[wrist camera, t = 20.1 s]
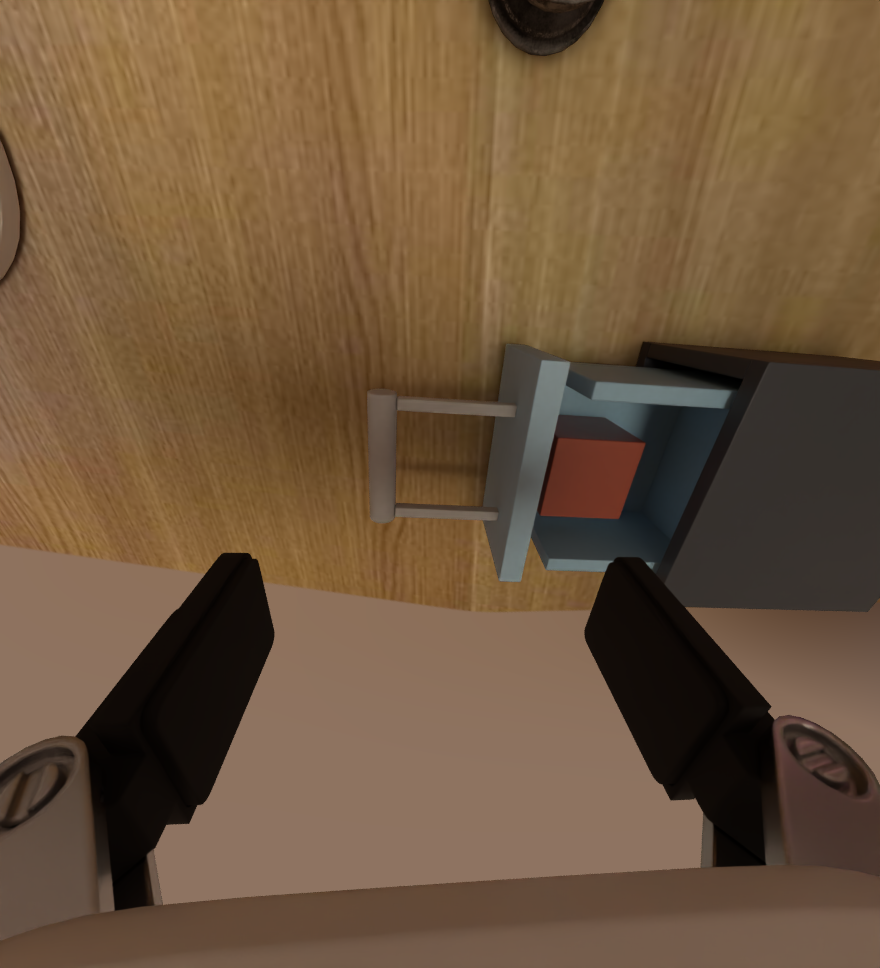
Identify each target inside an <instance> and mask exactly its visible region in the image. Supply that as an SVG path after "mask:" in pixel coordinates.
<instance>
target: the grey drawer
mask: <svg viewBox="0 0 880 968" xmlns="http://www.w3.org/2000/svg"><path fill="white" fill-rule="evenodd" d="M741 384H742V382H741V381H737V380H733V379H729V378H724V377H720V376H716V375H712V374H708V373H703V372H699V371H689V370H675V369H661V368H647V367H633V366H619V365H605V364H591V363H577V362H569V361H567V360H564V359H561V358H559V357H556V356H554V355H551V354H548V353H546V352H543V351H541V350H538V349H535V348H533V347H530V346H528V345H519V344H506V350H505V357H504V364H503V370H502V377H501V384H500V391H499V398H498V402H489V401H473V400H457V399H442V398H426V397H410V396H398V397H397V392H396V391H393V390H389V389H372V390H369V391H368V392H367V408H368V452H369V496H370V518H371V520H373V521H374V522H377V523H388V522H390V521H392V520H393V519H394V518H395V517H415V518H439V519H463V520H483V522H484V526H485V530H486V534H487V537H488V541H489V545H490V549H491V552H492V556H493V560H494V564H495V568H496V571H497V575H498V579H499V581H508V582H520V581H521V577H522V573H523V568H524V564H525V560H526V555H527V551H528V546H529V542H530V538H532V540H533V542H534V545H535V547H536V549H537V551H538V553H539V556H540V558H541V560H542V562H543V564H544V567H545V569H546V570H560V571H591V572H606V569H607V566H608V564H609V563H610V562H613V561H614V559H615V558H617V557H639V558H641V559H643V560H644V561H645V562H646V564H647V565H648V566H649V567H650V568H651V569H652V570H653V572H654V573H655V574H656V572H657V570H658V567H659V565H660V563H661V561H662V559H663V556H664V554H665V552H666V550H667V547H668V545H669V543H670V541H671V539H672V536H673V534H674V532H675V530H676V528H677V525H678V523H679V521H680V519H681V516H682V514H683V512H684V510H685V508H686V505H687V503H688V501H689V499H690V497H691V494H692V492H693V490H694V488H695V485H696V483H697V481H698V479H699V477H700V474H701V472H702V470H703V468H704V466H705V463H706V461H707V459H708V457H709V454H710V452H711V450H712V448H713V446H714V443H715V441H716V439H717V437H718V434H719V432H720V430H721V428H722V426H723V423H724V421H725V419H726V417H727V415H728V412H729V410H730V408H731V406H732V403H733V401H734V399H735V397H736V395H737V392H738V390H739V388H740V386H741ZM397 410H398V411H415V412H431V413H448V414H464V415H481V416H496V418H495V425H494V432H493V439H492V446H491V452H490V459H489V466H488V473H487V480H486V486H485V493H484V500H483V507H476V506H453V505H430V504H407V503H396V505H395V493H396V429H397ZM558 415H573V416H589V417H605V418H606V419H608V420H610V421H611V422H613V423H615V424H616V425H618V426H619V427H621V428H623V429H624V430H626V431H627V432H629V433H631V434H632V435H634V436H635V437H637V438H639V439H640V440H642V441H644V442H645V443H646V445H645V448H644V451H643V453H642V456H641V459H640V462H639V465H638V467H637V470H636V473H635V476H634V479H633V481H632V484H631V487H630V490H629V492H628V495H627V498H626V501H625V504H624V506H623V509H622V512H621V515H620V518H619V519H604V518H581V517H557V516H540V515H539V513H538V511H537V507H538V503H539V498H540V494H541V490H542V485H543V481H544V477H545V472H546V468H547V463H548V459H549V455H550V450H551V446H552V442H553V437H554V433H555V429H556V424H557V420H558Z"/></svg>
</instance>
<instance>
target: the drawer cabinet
mask: <svg viewBox="0 0 880 968" xmlns="http://www.w3.org/2000/svg"><path fill="white" fill-rule="evenodd" d="M636 367H647V368H661V369H675V370H689V371H699V372H703V373H708V374H712V375H716V376H720V377H724V378H729V379H733V380H737V381H741V382H742V384H741V386H740V388H739V390H738V392H737V395H736V397H735V399H734V401H733V403H732V406H731V408H730V410H729V412H728V415H727V417H726V419H725V421H724V423H723V426H722V428H721V430H720V432H719V434H718V437H717V439H716V441H715V443H714V446H713V448H712V450H711V452H710V454H709V457H708V459H707V461H706V463H705V466H704V468H703V470H702V472H701V474H700V477H699V479H698V481H697V483H696V485H695V488H694V490H693V492H692V494H691V497H690V499H689V501H688V503H687V505H686V508H685V510H684V512H683V514H682V516H681V519H680V521H679V523H678V525H677V528H676V530H675V532H674V534H673V536H672V539H671V541H670V543H669V545H668V547H667V550H666V552H665V554H664V556H663V559H662V561H661V563H660V565H659V567H658V570H657V572H656V575H657V576H658V577H659V578H660V580H661V581H662V582H663V583H664V584H665V585H666V586H667V588H668V589H669V590H670V591H671V592H672V593H673V594H674V596H675V597H676V598H677V599H678V600H679V601H680V602H681V604H682V605H683V606H684V607H705V608H744V609H745V608H746V609H781V610H819V611H856V612H857V611H858V612H868V611H869V610H870V609H871V607H872V606H873V605H874V604H875V603H876V602H877V601H878V599H879V598H880V362H879V361H871V360H863V359H855V358H846V357H838V356H825V355H812V354H799V353H786V352H773V351H760V350H747V349H734V348H721V347H708V346H694V345H681V344H668V343H655V342H643V345H642V348H641V351H640V355H639V358H638V361H637V364H636Z"/></svg>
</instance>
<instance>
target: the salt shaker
mask: <svg viewBox="0 0 880 968" xmlns="http://www.w3.org/2000/svg"><path fill="white" fill-rule="evenodd" d="M489 2H490V6H491V9H492V13H493V16H494V18H495V19H496V21H497V23H498V25H499V27H500V29H501V31H502V33H503V34H504V35H505V36H506V37H507V38H508V39H509V40H510V41H511V42H512V44H513V45H514V46H515V47H517V48H519V49H521V50H523V51H525V52H527V53H528V54H533V55H542V56H546V55H550V54H554V53H558V52H561V51H563V50H564V49H566V48H567V47H569V46H570V45H572V44H573V43H575V42H576V41H577V40H578V39H579V38H580V37H581V36H582V34H583V33H584V32H585V31H586V30H587V29H588V28H589V27H590V25H591V23H592V22H593V20H594V18H595V17H596V15H597V13H598V11H599V10H600V8H601V6H602V4H603V2H604V0H489Z"/></svg>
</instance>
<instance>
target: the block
mask: <svg viewBox="0 0 880 968" xmlns="http://www.w3.org/2000/svg"><path fill="white" fill-rule="evenodd" d="M645 445H646V443H645V442H644V441H642V440H640V439H639V438H637V437H635V436H634V435H632V434H631V433H629V432H627V431H626V430H624V429H623V428H621V427H619V426H618V425H616V424H615V423H613V422H611V421H610V420H608V419H606V418H605V417H589V416H573V415H558V420H557V424H556V429H555V433H554V437H553V442H552V446H551V450H550V455H549V459H548V463H547V468H546V472H545V477H544V481H543V485H542V490H541V494H540V498H539V503H538V507H537V511H538V513H539V515H540V516H557V517H581V518H604V519H619V518H620V515H621V512H622V509H623V506H624V504H625V501H626V498H627V495H628V492H629V490H630V487H631V484H632V481H633V479H634V476H635V473H636V470H637V467H638V465H639V462H640V459H641V456H642V453H643V451H644V448H645Z"/></svg>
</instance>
